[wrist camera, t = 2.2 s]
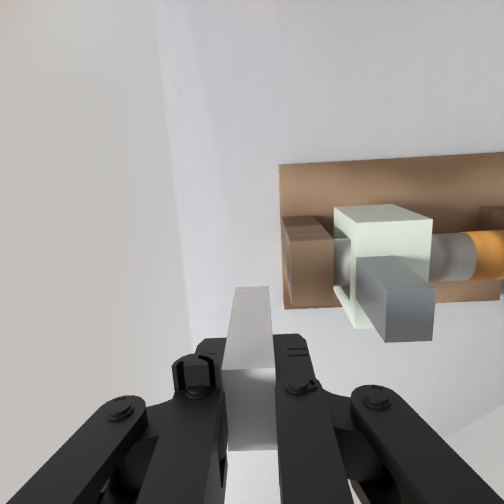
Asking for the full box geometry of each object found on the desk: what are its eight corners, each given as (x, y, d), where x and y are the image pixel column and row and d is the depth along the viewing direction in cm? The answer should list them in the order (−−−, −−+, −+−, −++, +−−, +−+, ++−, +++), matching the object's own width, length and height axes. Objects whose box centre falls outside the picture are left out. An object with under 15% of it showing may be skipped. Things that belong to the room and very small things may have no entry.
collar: (333, 206, 25) (388, 245, 15) (391, 203, 25) (491, 240, 14) (333, 290, 27) (383, 381, 16) (388, 287, 27) (475, 377, 16)
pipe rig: (278, 165, 29) (287, 170, 20) (505, 152, 29) (629, 151, 19) (283, 302, 33) (293, 364, 23) (488, 293, 32) (587, 353, 22)
